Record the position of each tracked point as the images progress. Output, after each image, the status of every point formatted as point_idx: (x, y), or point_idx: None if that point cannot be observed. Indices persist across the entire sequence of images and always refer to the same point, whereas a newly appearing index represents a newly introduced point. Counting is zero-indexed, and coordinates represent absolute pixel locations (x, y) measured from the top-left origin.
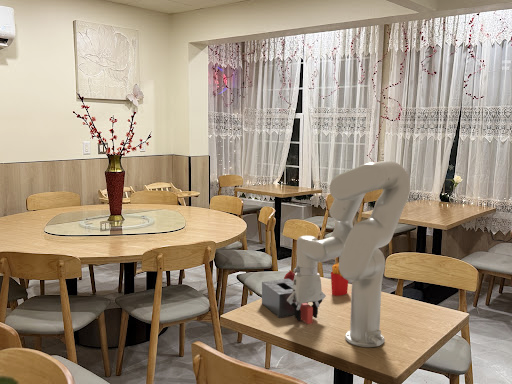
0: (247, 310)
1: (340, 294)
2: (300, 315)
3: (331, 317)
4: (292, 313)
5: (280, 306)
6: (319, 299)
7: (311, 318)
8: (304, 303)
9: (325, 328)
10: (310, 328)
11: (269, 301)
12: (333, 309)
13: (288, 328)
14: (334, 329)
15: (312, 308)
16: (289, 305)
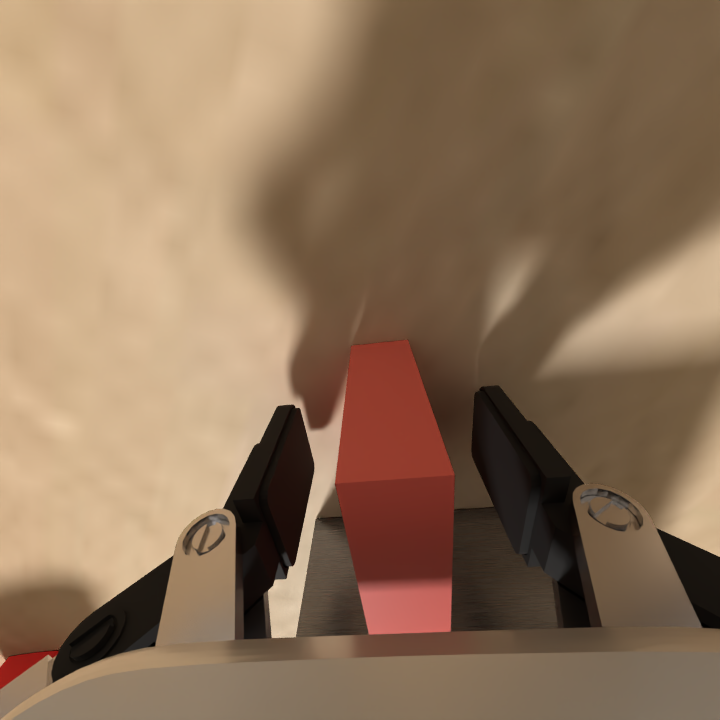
0: None
1: (40, 659)
2: (502, 422)
3: (134, 416)
4: (454, 528)
5: None
6: (49, 710)
7: (363, 368)
8: (403, 618)
9: (254, 154)
10: (436, 211)
11: None
12: (102, 530)
13: (666, 283)
14: (136, 75)
15: (343, 464)
16: (518, 617)
